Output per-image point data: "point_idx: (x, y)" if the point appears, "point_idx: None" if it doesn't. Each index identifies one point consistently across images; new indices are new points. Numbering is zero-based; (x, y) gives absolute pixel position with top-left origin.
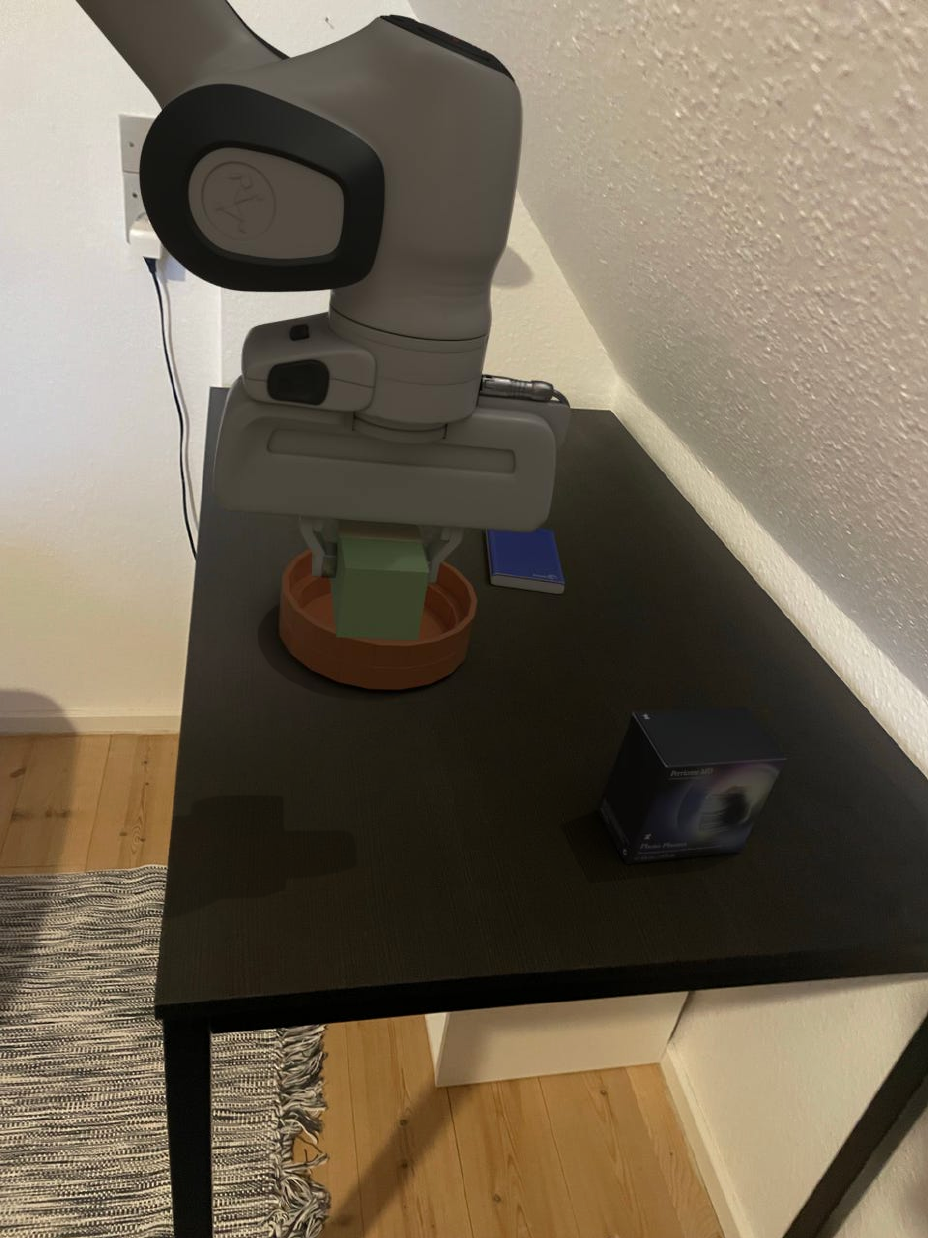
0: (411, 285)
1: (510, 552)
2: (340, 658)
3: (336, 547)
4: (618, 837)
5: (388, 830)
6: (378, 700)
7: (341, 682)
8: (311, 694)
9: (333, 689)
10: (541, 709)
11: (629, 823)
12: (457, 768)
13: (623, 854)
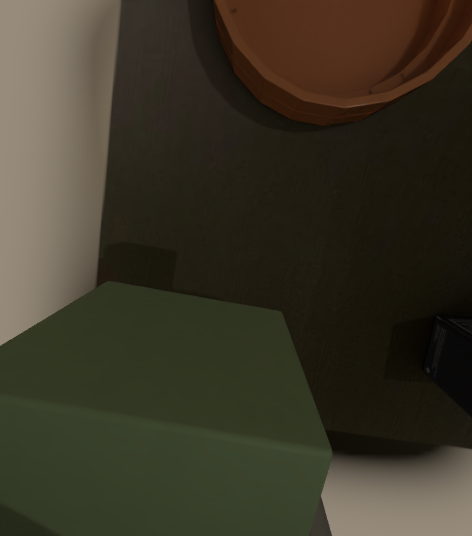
0: None
1: None
2: (261, 89)
3: None
4: (431, 359)
5: (252, 303)
6: (296, 133)
7: (263, 103)
8: (229, 112)
9: (254, 106)
10: (466, 174)
11: (445, 378)
12: (336, 245)
13: (426, 368)
